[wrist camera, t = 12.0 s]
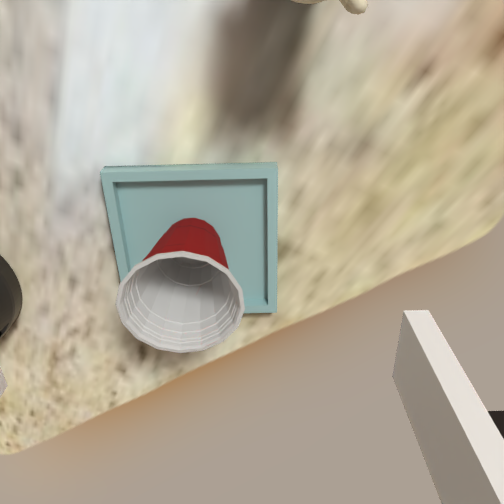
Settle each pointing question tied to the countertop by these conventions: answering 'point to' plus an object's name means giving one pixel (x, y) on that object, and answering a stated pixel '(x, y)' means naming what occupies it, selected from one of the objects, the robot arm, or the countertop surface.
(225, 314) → the plastic cup
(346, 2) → the character mug
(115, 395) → the countertop surface
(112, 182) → the tray
